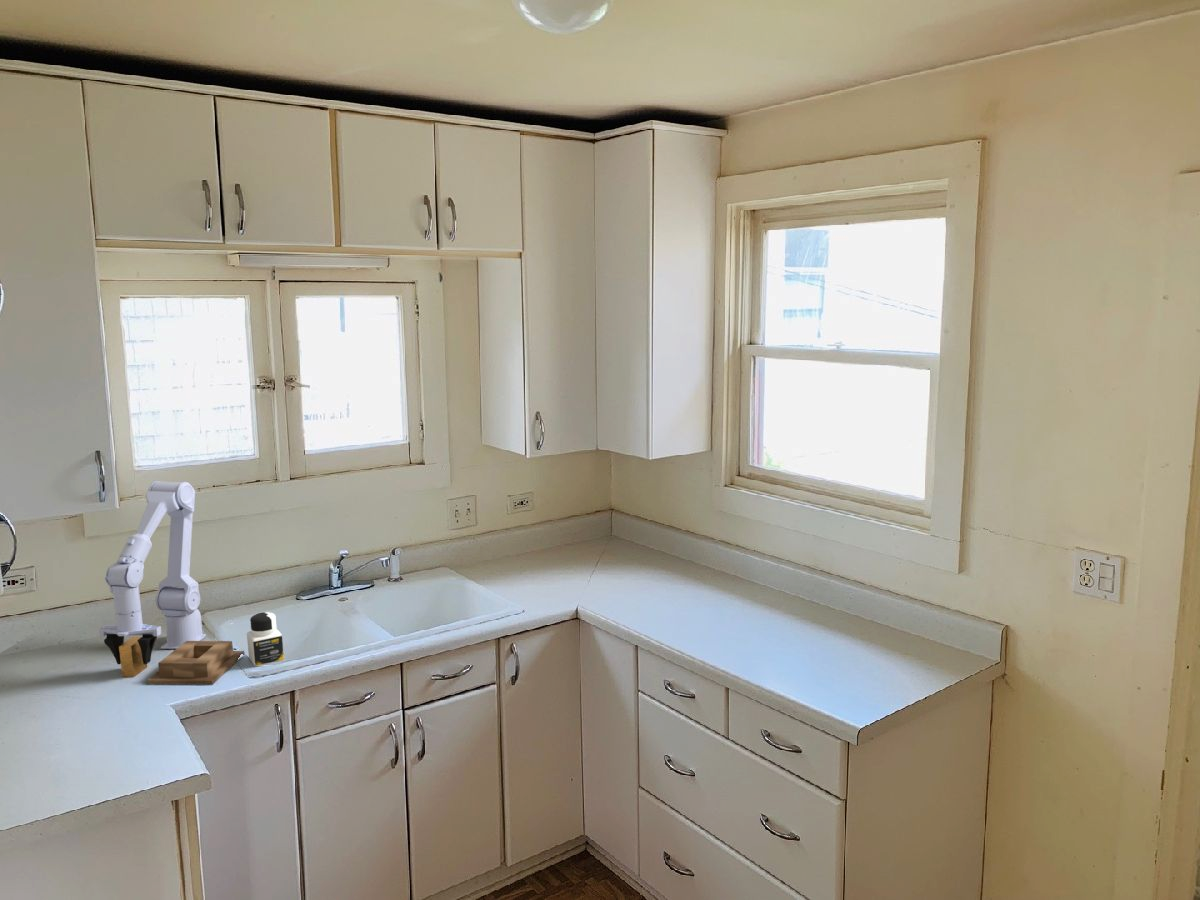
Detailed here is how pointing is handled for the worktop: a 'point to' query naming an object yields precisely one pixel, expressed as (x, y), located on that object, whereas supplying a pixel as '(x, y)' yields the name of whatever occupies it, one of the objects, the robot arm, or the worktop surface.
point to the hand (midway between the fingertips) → (134, 662)
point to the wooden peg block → (131, 658)
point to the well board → (196, 663)
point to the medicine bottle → (264, 640)
